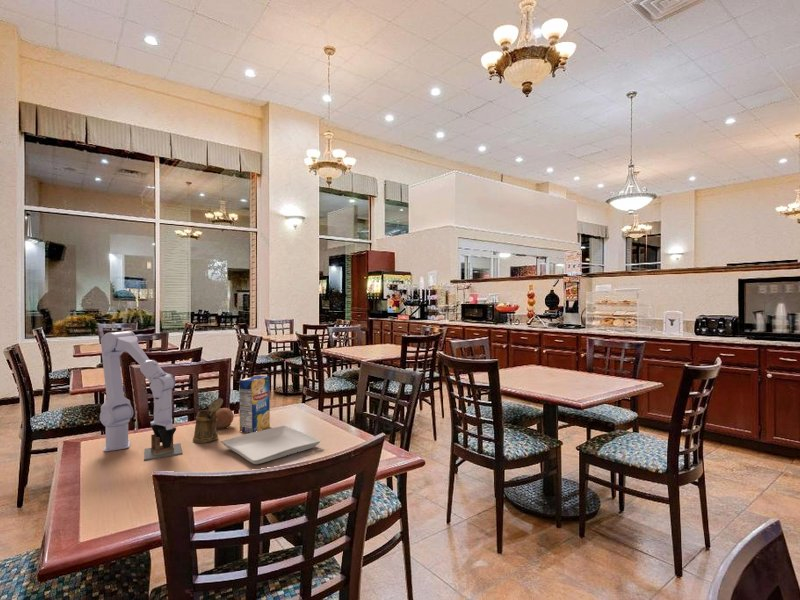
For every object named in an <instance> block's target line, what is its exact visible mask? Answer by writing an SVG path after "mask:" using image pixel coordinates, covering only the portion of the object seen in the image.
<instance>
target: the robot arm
mask: <svg viewBox="0 0 800 600" xmlns="http://www.w3.org/2000/svg"><path fill="white" fill-rule="evenodd" d="M138 340H139V339H138V336H136V334H135V333H134V332H133V331H132V330H126V331H125V330H124V331H115V332H106V333H105V334H104V335H103V336H102V337H101V338H100V347H101V359H102V367H103V375H104V384H105V393H106V400H105V402H103V404H102V405H101V406H100V413H99V420H100V422H101V424H102V425H103V426H104V427H105V445H104V448H103V453H105V452H113V451H117V450H119V451H120V450H123V449H129V448H130V444H131V439H129V422H130V421H131V419H132V418H133V416H134V409H133V406H132V404H131V400H130V399H128V398H127V397H125V393H124V384H123V377H122V369H121V368H122V367H121V359H120V356H121V355H122V354H123V353H125V352H127V353H128V354H129V355H130V356H131V357H132V358H133V359H134V360H135V362H137V363H138V364H139V366H140V367H139V370H140V372H141V373H142V375H144V377H145V378H146V379H147V381H148V382H149V383H150V384H149V389H150V390H151V392H152V397H153V420H152V421H150V425H149V426H150V427H151V429H152V431H153V434H155V435H156V437H160V444H162V445H163V448H168V447H170V445H171V441H172V437H173V438H174V434H175V432H176V430H177V427H175V426H173V425H174V424H173V417H172V416H173V409H172V408H173V407H172V406H173V404H172V403H173V402H172V400H173V399H172V397H173V396H172V395H173V394H172V393H173V392H172V390H173V389H174V388H175V386H176V378H175V377H174V375H173V374H171V373H167V372H165V371H164V370H163V369H162V368H161V366H160V365H159V363H158V361H157V360H155V359H150V358H149V357H148V356H147V354H146V353H145V351H144V349H143V348H142V347H141V346H140V344H139V343H138V342H139V341H138Z"/></svg>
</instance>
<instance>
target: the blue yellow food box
mask: <svg viewBox="0 0 800 600" xmlns="http://www.w3.org/2000/svg"><path fill="white" fill-rule="evenodd" d="M238 383H239V384H238V385H239V389H238V390H239V395H238V397H239V432H240V431H242V432H241V433H244V432H248V433H247V434H249V433H253V432H256V431H259V430H260V431H261V429H263V430H265V429H267V428H269V427H268V426H271V425H270V424H271V417H270V413H271V411H270V404H271V403H270V402H271V401H270V376H268V375H266V376H265V375H255V376H250V377H246V378H243V379H242V378H241V379H239V381H238ZM266 427H267V428H266ZM264 428H265V429H264Z"/></svg>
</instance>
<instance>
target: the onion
mask: <svg viewBox="0 0 800 600" xmlns="http://www.w3.org/2000/svg"><path fill="white" fill-rule="evenodd" d="M216 414H217V424H216V430H221V429H223V428H225V429H228V428H230V427H231V424H232V423H233V420H234V413H233V411H232V410H231V409H230V408H228V407H222V408H221V407H220V408H219V409H218V410H217V411H216ZM227 427H228V428H227Z"/></svg>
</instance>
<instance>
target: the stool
mask: <svg viewBox="0 0 800 600" xmlns="http://www.w3.org/2000/svg"><path fill="white" fill-rule="evenodd" d="M150 439H151V440H150V442H151V444H150V445H151V447H150V448H151V452H152V453H154V454H155V455H159V454H163V453H168V452H172V451H174V447H173V444H174V436H173V437H172V441H171V445H170V447H168V448H163V445H161V443H160V437H156V435H155V434H154V433H153V434H151V435H150Z"/></svg>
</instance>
